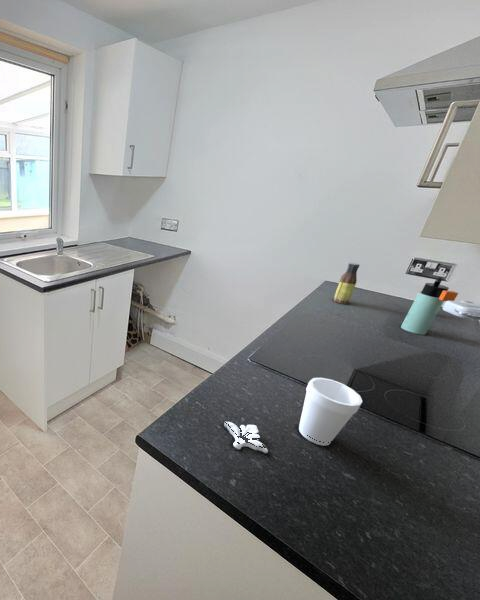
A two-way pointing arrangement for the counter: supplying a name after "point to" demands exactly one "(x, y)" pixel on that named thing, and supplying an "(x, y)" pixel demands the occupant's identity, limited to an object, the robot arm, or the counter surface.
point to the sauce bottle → (346, 284)
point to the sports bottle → (424, 308)
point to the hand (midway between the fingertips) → (464, 303)
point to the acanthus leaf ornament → (246, 429)
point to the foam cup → (327, 409)
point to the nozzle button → (448, 295)
